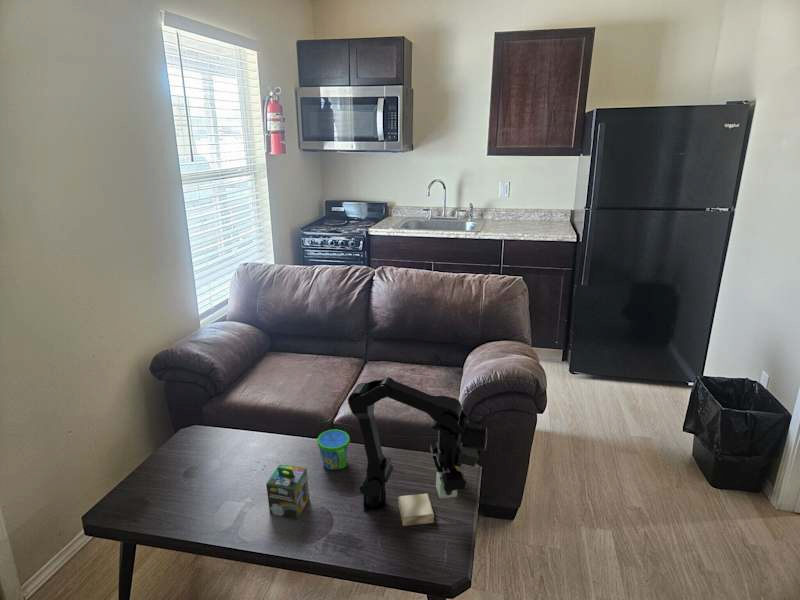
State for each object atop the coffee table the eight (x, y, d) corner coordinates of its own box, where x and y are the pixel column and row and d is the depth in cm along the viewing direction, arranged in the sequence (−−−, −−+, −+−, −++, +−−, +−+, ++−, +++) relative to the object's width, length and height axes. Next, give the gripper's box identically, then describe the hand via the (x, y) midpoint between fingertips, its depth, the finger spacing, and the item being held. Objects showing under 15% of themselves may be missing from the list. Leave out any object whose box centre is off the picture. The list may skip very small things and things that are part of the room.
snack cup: (356, 474, 168) (355, 448, 165) (325, 482, 164) (323, 456, 161) (342, 447, 182) (342, 422, 178) (313, 453, 178) (312, 428, 174)
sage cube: (439, 498, 145) (440, 484, 143) (435, 486, 150) (436, 472, 148) (456, 496, 146) (457, 482, 144) (452, 484, 150) (453, 470, 149)
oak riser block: (403, 525, 148) (403, 517, 147) (398, 503, 156) (398, 495, 155) (433, 522, 149) (434, 514, 148) (427, 500, 157) (427, 492, 156)
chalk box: (310, 498, 158) (307, 458, 152) (297, 520, 149) (294, 478, 144) (282, 493, 160) (278, 453, 154) (268, 514, 151) (264, 473, 146)
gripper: (487, 461, 134) (483, 508, 140) (467, 421, 152) (464, 464, 157) (445, 465, 133) (443, 513, 138) (430, 424, 150) (429, 468, 155)
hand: (446, 488), depth 147 cm, fingers closed on sage cube, 5 cm apart
